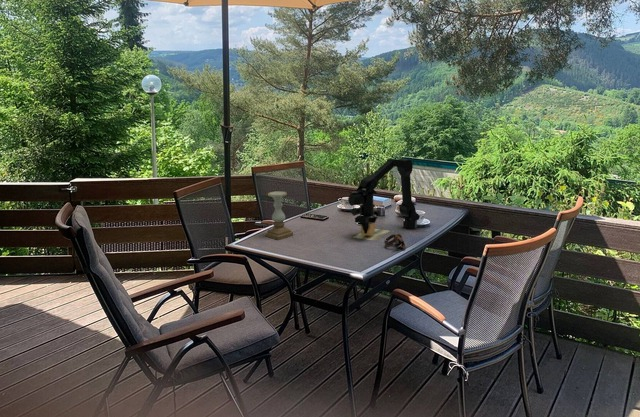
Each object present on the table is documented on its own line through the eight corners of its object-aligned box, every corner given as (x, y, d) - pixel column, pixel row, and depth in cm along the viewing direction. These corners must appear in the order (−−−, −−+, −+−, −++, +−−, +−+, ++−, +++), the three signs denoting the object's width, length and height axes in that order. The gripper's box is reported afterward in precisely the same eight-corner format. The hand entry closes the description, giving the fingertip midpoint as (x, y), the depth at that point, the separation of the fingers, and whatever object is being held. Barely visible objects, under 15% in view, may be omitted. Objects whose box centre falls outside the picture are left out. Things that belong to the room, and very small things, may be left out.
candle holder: (280, 232, 271) (278, 190, 265) (293, 235, 263) (291, 192, 258) (265, 236, 263) (262, 193, 258) (278, 240, 256) (275, 196, 250)
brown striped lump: (405, 253, 231) (396, 239, 229) (388, 259, 236) (379, 245, 234) (410, 240, 240) (402, 227, 238) (394, 246, 246) (386, 233, 244)
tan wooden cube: (374, 232, 255) (374, 222, 253) (370, 235, 250) (370, 225, 249) (365, 231, 257) (365, 221, 256) (360, 234, 253) (360, 224, 252)
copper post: (371, 236, 255) (371, 228, 254) (369, 237, 252) (369, 230, 252) (366, 235, 256) (366, 228, 255) (364, 236, 254) (364, 229, 253)
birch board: (390, 232, 264) (390, 230, 263) (375, 242, 247) (375, 240, 247) (369, 229, 270) (369, 228, 270) (352, 239, 254) (352, 237, 253)
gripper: (361, 198, 262) (362, 225, 265) (345, 205, 246) (346, 234, 250) (380, 199, 256) (380, 228, 260) (365, 207, 241) (365, 237, 244)
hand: (367, 231), depth 254 cm, fingers closed on tan wooden cube, 5 cm apart
